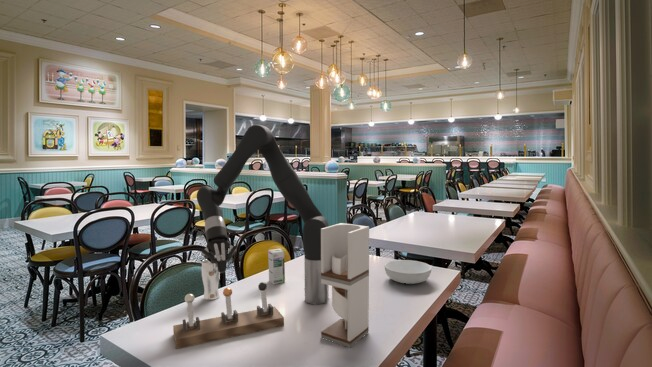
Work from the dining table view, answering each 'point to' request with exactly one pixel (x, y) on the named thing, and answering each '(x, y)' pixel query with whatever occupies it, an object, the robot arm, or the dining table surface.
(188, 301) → the cream lever
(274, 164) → the robot arm
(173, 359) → the dining table surface
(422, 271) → the serving bowl
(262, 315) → the switch panel
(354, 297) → the display case
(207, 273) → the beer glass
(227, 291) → the orange lever
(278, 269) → the syrup box
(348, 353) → the dining table surface
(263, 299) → the black lever
